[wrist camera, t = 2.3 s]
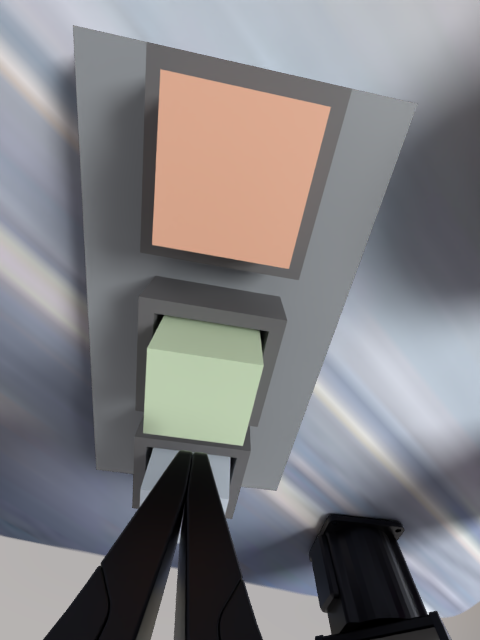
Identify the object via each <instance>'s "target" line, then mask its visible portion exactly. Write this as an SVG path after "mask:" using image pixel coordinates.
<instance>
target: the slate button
mask: <svg viewBox="0 0 480 640" xmlns="http://www.w3.org/2000/svg"><path fill="white" fill-rule="evenodd" d="M178 452H179V451H177V450H169V449H161V448H153V450H152V454H151V457H150V460H149V463H148V466H147V470H146V473H145V476H144V479H143V482H142V486H141V489H140V506H141V504H142V503H143V502H144V500H145V499H146V497H147V496H148V494H149V493H150V491H151V490H152V489H153V487H154V486H155V484H156V483H157V481H158V480H159V479H160V477H161V476H162V474H163V473H164V471H165V470H166V468H167V467H168V466H169V464H170V463H171V461H172V460H173V458H174V457H175V456H176V454H177V453H178ZM192 453H193V452H192ZM207 455H208V458H209V461H210V465H211V468H212V472H213V475H214V479H215V482H216V486H217V489H218V493H219V496H220V500H221V503H222V507H223V510H224V514H225V513H226V509H227V505H228V501H229V486H230V457H226V456H218V455H210V454H207ZM181 525H182V524H181ZM180 532H181V529H180ZM177 543H180V534H179V538H178V542H177Z"/></svg>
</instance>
